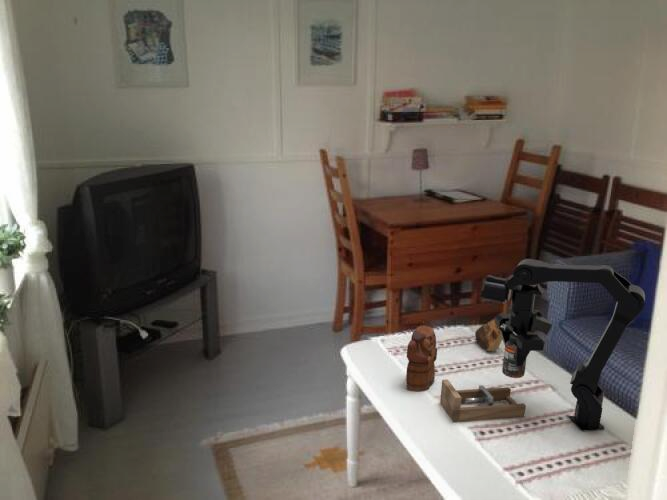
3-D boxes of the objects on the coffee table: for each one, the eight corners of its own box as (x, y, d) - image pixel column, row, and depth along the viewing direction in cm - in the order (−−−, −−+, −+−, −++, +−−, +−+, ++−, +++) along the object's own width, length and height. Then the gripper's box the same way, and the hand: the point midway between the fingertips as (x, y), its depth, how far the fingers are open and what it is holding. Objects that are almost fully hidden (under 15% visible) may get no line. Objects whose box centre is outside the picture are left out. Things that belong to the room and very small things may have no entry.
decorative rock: (504, 354, 196) (508, 324, 193) (487, 356, 195) (491, 325, 192) (487, 339, 207) (490, 310, 205) (471, 341, 206) (474, 311, 203)
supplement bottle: (522, 370, 165) (527, 332, 162) (525, 380, 160) (531, 341, 157) (500, 368, 166) (505, 330, 163) (503, 377, 160) (508, 339, 157)
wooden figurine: (422, 395, 168) (427, 336, 163) (402, 389, 171) (406, 331, 167) (438, 379, 178) (443, 323, 173) (418, 373, 181) (423, 318, 176)
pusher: (491, 414, 158) (493, 397, 157) (469, 416, 157) (471, 399, 156) (481, 401, 165) (482, 385, 164) (459, 402, 164) (461, 386, 163)
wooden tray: (524, 417, 159) (527, 393, 157) (453, 422, 155) (455, 398, 153) (507, 398, 168) (510, 376, 166) (440, 402, 165) (442, 379, 163)
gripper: (568, 320, 150) (559, 376, 154) (534, 294, 168) (527, 345, 172) (526, 320, 148) (518, 377, 152) (497, 294, 166) (490, 346, 170)
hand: (514, 360), depth 162 cm, fingers closed on supplement bottle, 6 cm apart
